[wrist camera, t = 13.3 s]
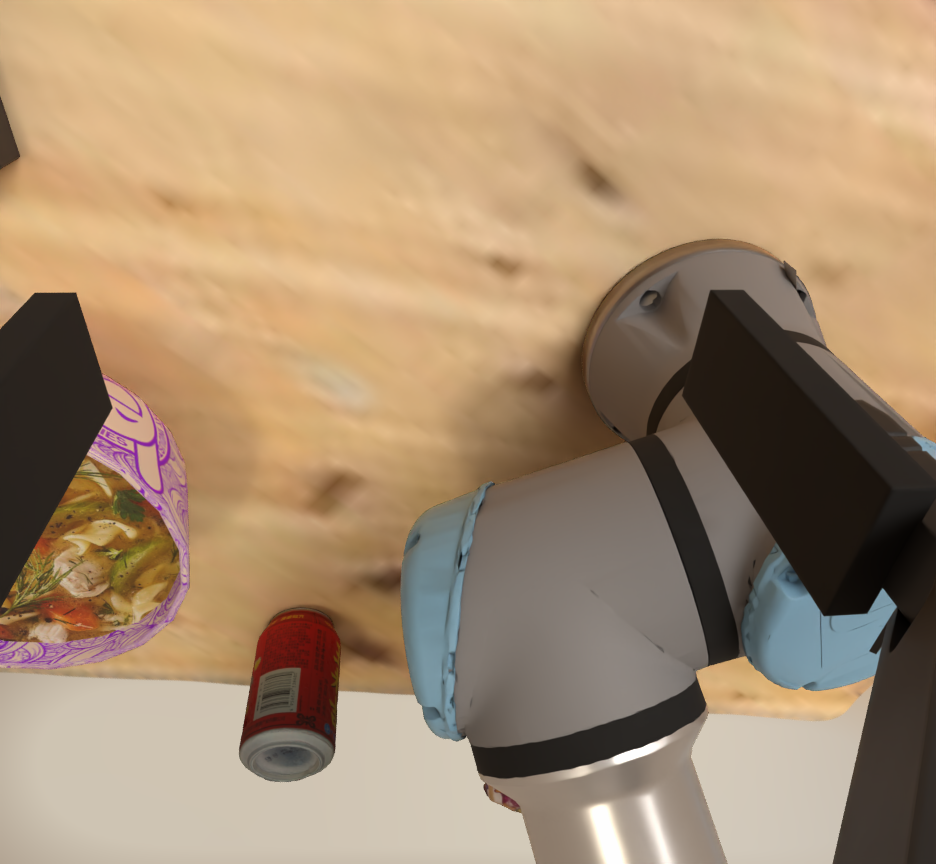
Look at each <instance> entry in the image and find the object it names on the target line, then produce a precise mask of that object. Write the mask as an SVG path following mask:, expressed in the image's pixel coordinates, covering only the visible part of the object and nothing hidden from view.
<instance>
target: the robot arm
mask: <svg viewBox="0 0 936 864" xmlns="http://www.w3.org/2000/svg"><path fill="white" fill-rule="evenodd" d="M582 374H583V380H584V384H585V387H586V389H587V392H588V394H589V397H590V399H591V401H592V403H593V406H594V408H595V410H596V412H597V413H598V415H599V417H600V418H601V419H602V421H603V422H604V423H605V424H606V425H607V427H608V428H609V429H611V430H612V431H613V432H614V433H615V434H617V435H618V436H620V437H621V438H622V439H624V440H625V441H627V442H624V443H621V444H618V445H615V446H612V447H609V448H606V449H603V450H600V451H597V452H594V453H591V454H588V455H585V456H582V457H579V458H576V459H573V460H570V461H567V462H564V463H561V464H558V465H555V466H551V467H548V468H545V469H542V470H539V471H536V472H533V473H530V474H527V475H524V476H521V477H518V478H515V479H512V480H509V481H506V482H502V483H499V484H496V485H495V483H492V482H487V483H484V484H482V485H481V486H480V487H479V488H478V490H476V491H473V492H470V493H468V494H465V495H462V496H460V497H457V498H455V499H452V500H449V501H447V502H444V503H441V504H439V505H436V506H434V507H432V508H430V509H428V510H427V511H425V512H424V513H423V514H422V515H421V516H420V517H419V518H418V519H417V520H416V522H415V523H414V525H413V527H412V528H411V530H410V533H409V535H408V538H407V541H406V545H405V550H404V557H403V561H402V569H401V615H402V628H403V636H404V644H405V651H406V657H407V662H408V668H409V673H410V678H411V682H412V686H413V690H414V693H415V696H416V699H417V701H418V703H419V704H420V705H422V709H423V715H424V719H425V721H426V723H427V725H428V727H429V728H430V729H431V731H432V732H433V733H434V734H435V735H437V736H439V737H440V738H444V739H452V740H453V741H459V740H462V739H465V738H466V736H467V738H468V739H469V742H470V744H471V747H472V751H473V755H474V758H475V762H476V766H477V771H478V773H479V776H480V778H481V780H483V781H484V782H485V783H487V784H489V785H490V786H492V787H493V788H495V789H497V790H498V791H500V792H502V793H503V794H505V795H507V796H508V797H510V798H511V799H513V800H515V801H516V802H517V803H518V805H519V806H520V808H521V811H522V815H523V819H524V822H525V826H526V829H527V833H528V836H529V840H530V843H531V847H532V850H533V854H534V858H535V861H536V864H728V863H727V860H726V857H725V855H724V852H723V849H722V846H721V844H720V840H719V838H718V834H717V831H716V829H715V825H714V823H713V820H712V817H711V814H710V811H709V808H708V805H707V802H706V799H705V796H704V794H703V791H702V788H701V785H700V782H699V779H698V776H697V773H696V770H695V767H694V765H693V761H692V759H691V753H692V747H693V745H694V743H695V740H696V739H697V737H698V735H699V733H700V731H701V729H702V727H703V725H704V723H705V721H706V719H707V716H708V713H709V712H708V708H707V704H706V702H705V699H704V696H703V694H702V691H701V688H700V685H699V682H698V680H697V677H696V671H697V670H700V669H702V668H705V667H707V666H710V665H714V664H717V663H721V662H725V661H728V660H732V659H736V658H739V657H743V656H746V657H747V659H748V661H749V663H751V664H752V665H753V666H754V668H755V669H756V670H758V671H760V672H761V673H762V674H763V675H764V676H765V677H766V678H767V679H768V680H770V681H772V682H773V683H774V684H777V685H780V686H781V687H784V688H787V689H793V690H797V689H799V688H800V687H803V688H805V689H806V690H811V691H821V690H828V689H834V688H838V687H842V686H846V685H850V684H853V683H856V682H859V681H861V680H864V679H867V678H869V677H872V676H874V675H875V678H874V683H873V687H872V692H871V696H870V701H869V705H868V710H867V714H866V718H865V723H864V727H863V731H862V736H861V740H860V745H859V749H858V754H857V758H856V762H855V767H854V772H853V776H852V780H851V785H850V789H849V794H848V798H847V802H846V807H845V811H844V816H843V820H842V824H841V829H840V833H839V838H838V842H837V847H836V851H835V855H834V860H833V864H936V443H934V442H932V441H930V440H928V439H927V438H926V437H923V436H922V435H921V434H920V433H919V432H918V431H917V430H916V429H914V428H913V427H912V426H911V425H910V424H909V423H908V422H907V421H906V420H905V419H904V418H903V417H901V416H900V415H899V414H898V413H897V412H896V411H895V410H894V409H893V408H892V407H891V406H889V405H888V404H887V403H886V402H885V401H884V400H883V399H882V398H881V397H880V396H879V395H878V394H876V393H875V392H874V391H873V390H872V389H871V388H870V387H869V386H868V385H867V384H866V383H864V382H863V381H862V380H861V379H860V378H859V377H858V376H857V375H856V374H855V373H854V372H853V371H851V370H850V369H849V368H848V367H847V366H846V365H845V364H844V363H843V362H842V361H841V360H839V359H838V358H837V357H836V356H835V355H834V354H833V353H832V352H831V351H830V350H829V349H828V348H827V347H826V344H825V341H824V338H823V335H822V332H821V329H820V326H819V323H818V321H817V320H816V315H815V311H814V308H813V304H812V300H811V298H810V295H809V293H808V291H807V289H806V287H805V285H804V284H803V283H802V281H801V280H800V279H799V277H798V276H797V275H796V270H795V269H794V268H792V267H791V266H790V265H789V264H788V263H786V262H785V261H784V264H783V263H782V262H781V261H780V260H779V259H777V258H776V257H775V256H773V255H772V254H771V253H769V252H767V251H766V250H764V249H762V248H760V247H758V246H755V245H753V244H749V243H746V242H742V241H736V240H728V239H710V240H702V241H695V242H691V243H687V244H683V245H680V246H677V247H674V248H671V249H669V250H667V251H664V252H662V253H660V254H658V255H656V256H654V257H652V258H650V259H649V260H647V261H646V262H644V263H642V264H641V265H639V266H638V267H637V268H635V269H634V270H633V271H631V272H630V273H629V274H628V275H627V276H625V277H624V278H623V279H622V280H621V281H620V282H619V283H618V284H617V285H616V286H615V287H614V288H613V289H612V290H611V292H610V293H609V294H608V295H607V297H606V298H605V299H604V300H603V302H602V303H601V305H600V306H599V308H598V309H597V311H596V313H595V315H594V317H593V319H592V321H591V323H590V325H589V328H588V330H587V333H586V337H585V340H584V345H583V350H582ZM112 409H113V407H112V404H111V401H110V398H109V395H108V391H107V388H106V385H105V382H104V379H103V376H102V373H101V370H100V366H99V363H98V360H97V357H96V354H95V351H94V348H93V344H92V341H91V338H90V335H89V332H88V329H87V326H86V322H85V319H84V316H83V313H82V310H81V307H80V304H79V300H78V297H77V294H76V293H34V294H33V295H32V296H31V298H30V299H29V300H28V301H27V302H26V303H25V304H24V305H23V306H22V307H21V308H20V309H19V310H18V311H17V312H16V313H15V314H14V315H13V316H12V318H11V319H10V320H9V321H8V322H7V323H6V324H5V325H4V326H3V327H2V328H1V329H0V608H1V607H2V605H3V603H4V601H5V600H6V598H7V596H8V594H9V592H10V591H11V589H12V587H13V585H14V583H15V582H16V580H17V578H18V576H19V575H20V573H21V571H22V569H23V567H24V566H25V564H26V562H27V560H28V558H29V557H30V555H31V553H32V551H33V550H34V548H35V546H36V544H37V542H38V541H39V539H40V537H41V535H42V533H43V532H44V530H45V528H46V526H47V525H48V523H49V521H50V519H51V517H52V516H53V514H54V512H55V510H56V508H57V507H58V505H59V503H60V501H61V500H62V498H63V496H64V494H65V492H66V491H67V489H68V487H69V485H70V484H71V482H72V480H73V478H74V476H75V475H76V473H77V471H78V469H79V467H80V466H81V464H82V462H83V460H84V459H85V457H86V455H87V453H88V451H89V450H90V448H91V446H92V444H93V442H94V441H95V439H96V437H97V435H98V434H99V432H100V430H101V428H102V426H103V425H104V423H105V421H106V419H107V417H108V416H109V414H110V412H111V410H112Z"/></svg>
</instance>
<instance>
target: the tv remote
mask: <svg viewBox="0 0 936 864" xmlns="http://www.w3.org/2000/svg"><path fill="white" fill-rule="evenodd" d="M19 157H20V155H19V152H18V149H17V146H16V143H15V140H14V137H13V134H12V131H11V128H10V124H9V121H8V118H7V115H6V112H5V109H4V106H3V103H2V100H1V97H0V169H2V168H3V167H5V166H6V165H8V164H10V163H11V162H13V161H14V160H16V159H18V158H19Z"/></svg>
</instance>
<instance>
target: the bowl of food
mask: <svg viewBox="0 0 936 864" xmlns="http://www.w3.org/2000/svg"><path fill="white" fill-rule="evenodd" d="M102 376H103V379H104V382H105V385H106V388H107V391H108V395H109V398H110V401H111V404H112V407H113V409H112V410H111V412H110V414H109V416H108V417H107V419H106V421H105V423H104V425H103V426H102V428H101V430H100V432H99V434H98V435H97V437H96V439H95V441H94V442H93V444H92V446H91V448H90V450H89V451H88V453H87V455H86V457H85V459H84V460H83V462H82V464H81V466H80V467H79V469H78V471H77V473H76V475H75V476H74V478H73V480H72V482H71V484H70V485H69V487H68V489H67V491H66V492H65V494H64V496H63V498H62V500H61V501H60V503H59V505H58V507H57V508H56V510H55V512H54V514H53V516H52V517H51V519H50V521H49V523H48V525H47V526H46V528H45V530H44V532H43V533H42V535H41V537H40V539H39V541H38V542H37V544H36V546H35V548H34V550H33V551H32V553H31V555H30V557H29V558H28V560H27V562H26V564H25V566H24V567H23V569H22V571H21V573H20V575H19V576H18V578H17V580H16V582H15V583H14V585H13V587H12V589H11V591H10V592H9V594H8V596H7V598H6V600H5V601H4V603H3V605H2V607H1V608H0V668H29V669H57V668H63V667H70V666H76V665H83V664H89V663H96V662H102V661H104V660H107V659H109V658H112V657H114V656H117V655H119V654H122V653H124V652H127V651H129V650H132V649H134V648H137V647H139V646H142V645H144V644H145V643H146V642H147V641H149V640H150V639H151V638H152V637H153V636H155V635H156V634H157V633H158V632H159V631H161V630H162V629H163V628H164V627H165V626H167V625H168V624H169V623H170V622H171V621H173V620H174V618H175V616H176V614H177V612H178V609H179V607H180V605H181V603H182V601H183V599H184V597H185V595H186V593H187V591H188V589H189V586H190V565H189V519H188V491H187V476H186V468H185V462H184V460H183V458H182V455H181V453H180V451H179V449H178V447H177V444H176V442H175V440H174V438H173V436H172V434H171V431H170V430H169V429H168V428H167V427H166V426H165V425H164V424H163V422H162V421H161V420H160V419H159V418H158V417H157V416H156V415H155V414H154V413H153V412H152V411H151V409H150V408H149V407H148V406H147V405H146V404H145V403H144V402H143V401H142V400H141V399H140V398H139V396H137V395H136V394H134V393H132V392H131V391H129V390H128V389H126V388H125V387H123V386H122V385H120V384H118V383H117V382H115V381H114V380H112V379H111V378H109V377H108V376H106V375H104V374H102Z"/></svg>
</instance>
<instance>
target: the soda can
mask: <svg viewBox="0 0 936 864" xmlns="http://www.w3.org/2000/svg"><path fill="white" fill-rule="evenodd" d="M340 655H341V643H340V639H339V637H338V635H337V633H336V631H335V630H334V626H333V623H332V621H331V619H330V618H329V617H328V616H327V615H325V614H323V613H322V612H319V611H317V610H313V609H308V608H295V609H289V610H286V611H283V612H281V613H279V614H277V615H276V616H275V617H274V618H273V619H272V620H271V622H270V624H269V626H268V627H267V628H266V629H265V630H264V632H263V633H262V634H261V636H260V637H259V640H258V644H257V649H256V655H255V661H254V667H253V672H252V678H251V684H250V691H249V697H248V702H247V707H246V714H245V720H244V725H243V732H242V736H241V742H240V747H239V757H240V760H241V762H242V763H243V765H244V766H245V767H246V768H247V769H248V770H250V771H251V772H253V773H255V774H256V775H258V776H260V777H262V778H264V779H265V780H269V781H275V782H291V781H297V780H301V779H303V778H306V777H308V776H311V775H314V774H316V773H318V772H320V771H322V770H323V769H324V768H326V767H327V765H328V764H330V763H331V760H332V758H333V756H334V753H335V740H336V724H337V702H338V687H339V674H340Z"/></svg>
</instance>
